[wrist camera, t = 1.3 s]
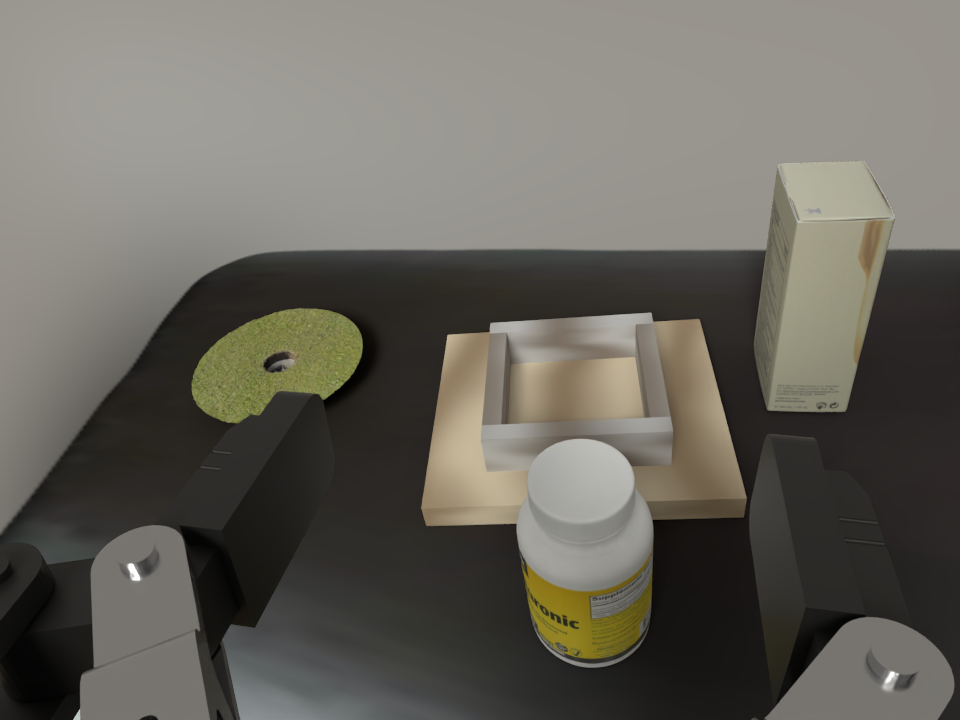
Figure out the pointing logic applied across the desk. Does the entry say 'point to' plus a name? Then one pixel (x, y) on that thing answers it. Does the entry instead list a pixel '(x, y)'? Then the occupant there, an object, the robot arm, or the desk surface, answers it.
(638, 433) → the socket board
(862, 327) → the skincare box
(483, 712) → the desk surface
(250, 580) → the robot arm
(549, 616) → the supplement bottle
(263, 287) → the desk surface
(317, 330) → the green disc with hole
